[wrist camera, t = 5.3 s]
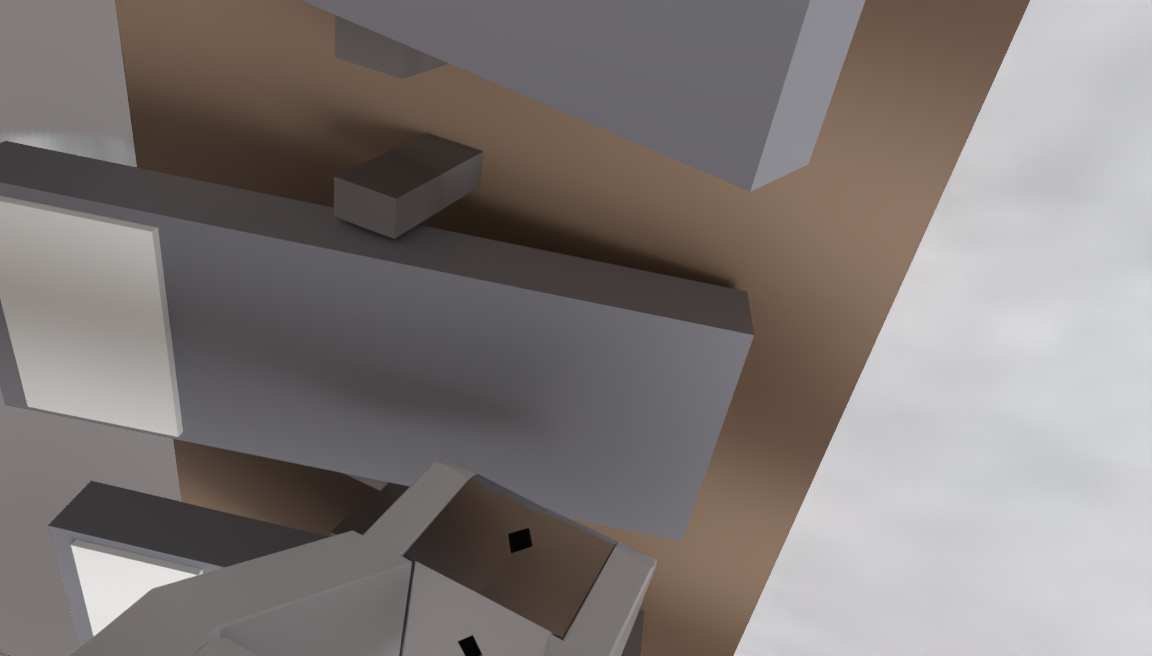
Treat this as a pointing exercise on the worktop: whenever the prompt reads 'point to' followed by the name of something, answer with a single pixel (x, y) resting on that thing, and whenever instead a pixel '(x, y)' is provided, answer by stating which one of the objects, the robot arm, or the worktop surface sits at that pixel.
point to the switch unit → (584, 234)
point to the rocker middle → (360, 341)
